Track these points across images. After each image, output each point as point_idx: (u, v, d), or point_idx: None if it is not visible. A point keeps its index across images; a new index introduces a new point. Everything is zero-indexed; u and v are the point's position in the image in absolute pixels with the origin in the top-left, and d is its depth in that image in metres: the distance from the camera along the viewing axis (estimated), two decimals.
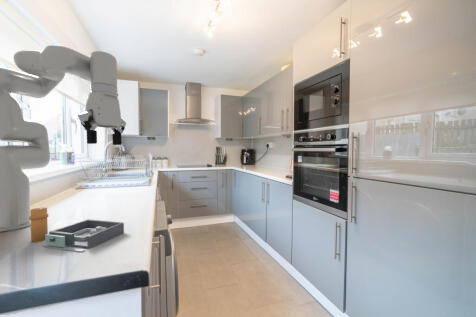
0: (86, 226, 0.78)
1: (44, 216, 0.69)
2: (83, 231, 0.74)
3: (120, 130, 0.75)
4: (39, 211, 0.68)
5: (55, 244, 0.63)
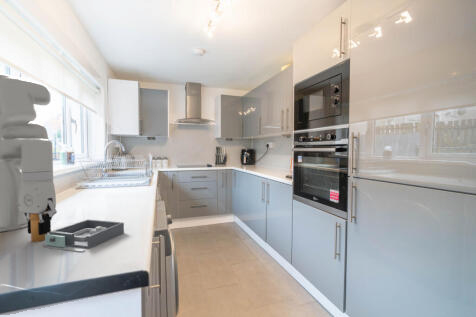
0: (86, 226, 0.78)
1: None
2: (83, 231, 0.74)
3: None
4: None
5: (55, 244, 0.63)
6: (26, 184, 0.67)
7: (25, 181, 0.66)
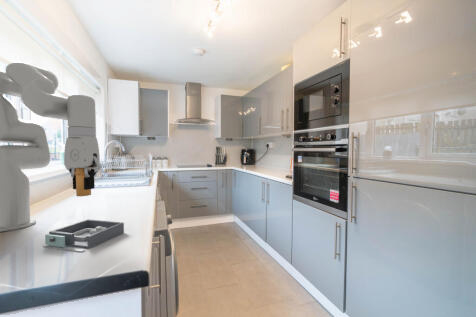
0: (86, 226, 0.78)
1: None
2: (83, 231, 0.74)
3: None
4: None
5: (55, 244, 0.63)
6: (72, 139, 0.68)
7: (72, 135, 0.67)
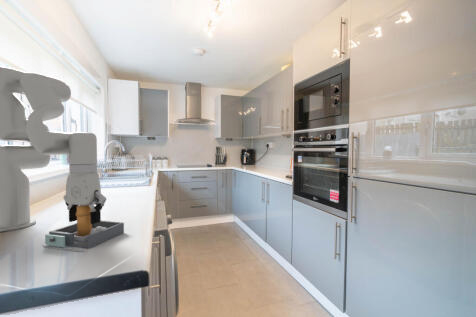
0: None
1: None
2: None
3: None
4: (85, 208, 0.70)
5: (55, 244, 0.63)
6: (74, 176, 0.69)
7: (74, 173, 0.67)
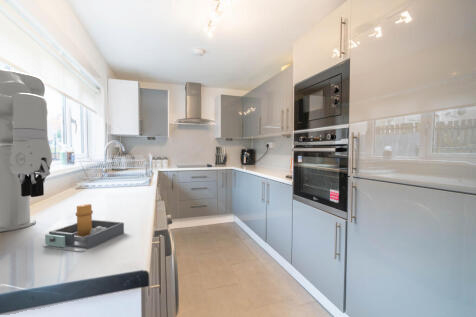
0: None
1: (89, 212, 0.71)
2: None
3: None
4: (85, 207, 0.70)
5: (55, 244, 0.63)
6: (18, 142, 0.63)
7: (17, 138, 0.61)
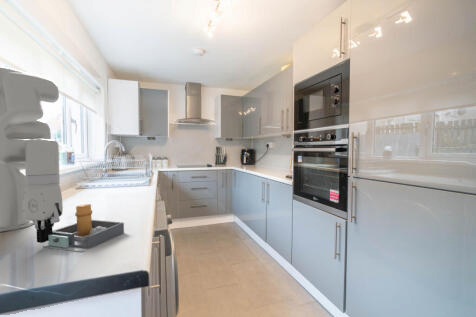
0: None
1: (89, 213, 0.71)
2: None
3: None
4: (84, 208, 0.70)
5: (58, 244, 0.63)
6: (31, 188, 0.62)
7: (29, 185, 0.61)
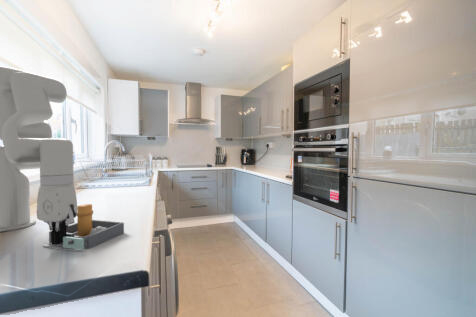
0: None
1: (90, 213, 0.71)
2: None
3: None
4: (86, 208, 0.70)
5: (73, 246, 0.61)
6: (45, 189, 0.60)
7: (44, 186, 0.59)
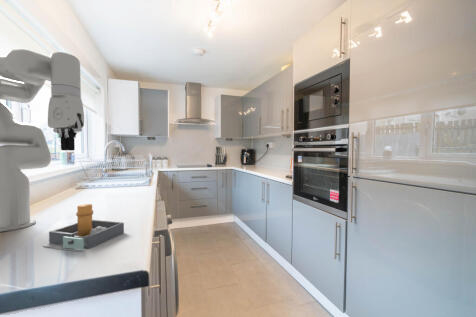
0: None
1: (90, 213, 0.71)
2: None
3: None
4: (85, 208, 0.70)
5: (73, 246, 0.62)
6: (56, 98, 0.67)
7: (55, 93, 0.66)
